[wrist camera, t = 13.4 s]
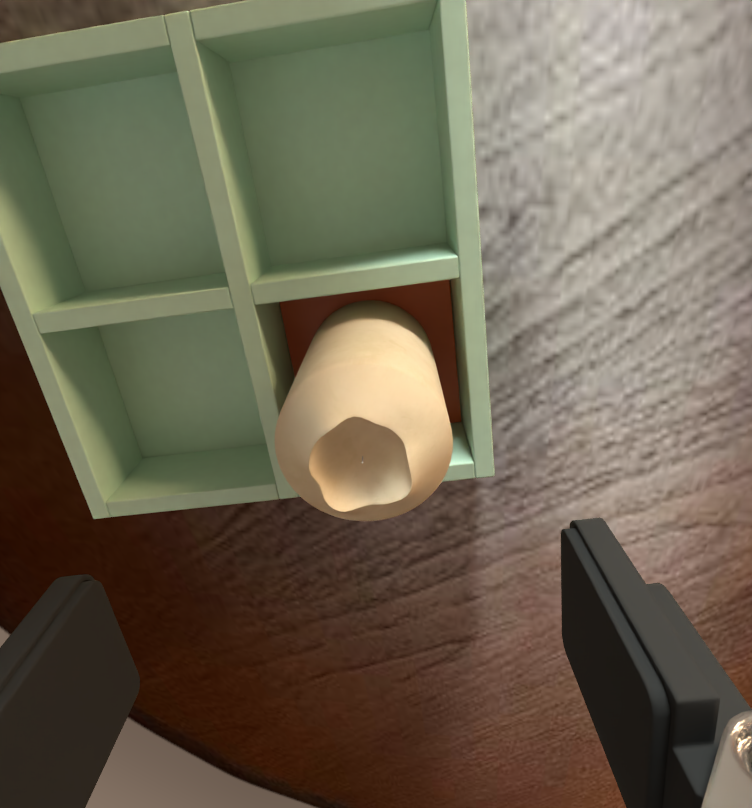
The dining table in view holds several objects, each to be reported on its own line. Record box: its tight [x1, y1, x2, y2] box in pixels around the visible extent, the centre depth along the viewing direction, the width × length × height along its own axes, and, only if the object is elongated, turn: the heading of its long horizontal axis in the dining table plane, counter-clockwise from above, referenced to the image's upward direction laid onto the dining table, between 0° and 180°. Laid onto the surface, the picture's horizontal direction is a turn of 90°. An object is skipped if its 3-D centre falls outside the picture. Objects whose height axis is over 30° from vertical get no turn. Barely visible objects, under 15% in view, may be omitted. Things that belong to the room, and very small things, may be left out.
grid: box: [0, 0, 495, 519], centre depth 22 cm, size 17×17×5 cm
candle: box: [275, 300, 453, 521], centre depth 20 cm, size 6×6×10 cm
